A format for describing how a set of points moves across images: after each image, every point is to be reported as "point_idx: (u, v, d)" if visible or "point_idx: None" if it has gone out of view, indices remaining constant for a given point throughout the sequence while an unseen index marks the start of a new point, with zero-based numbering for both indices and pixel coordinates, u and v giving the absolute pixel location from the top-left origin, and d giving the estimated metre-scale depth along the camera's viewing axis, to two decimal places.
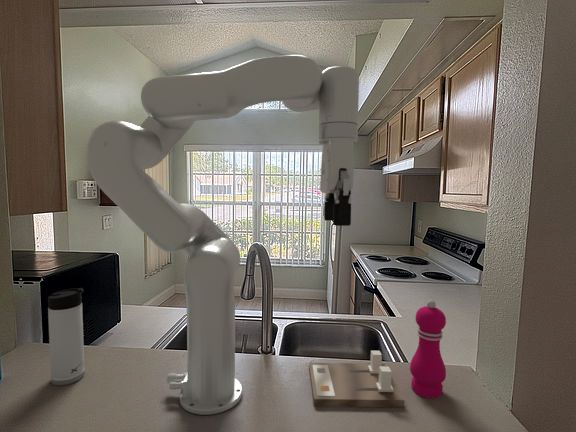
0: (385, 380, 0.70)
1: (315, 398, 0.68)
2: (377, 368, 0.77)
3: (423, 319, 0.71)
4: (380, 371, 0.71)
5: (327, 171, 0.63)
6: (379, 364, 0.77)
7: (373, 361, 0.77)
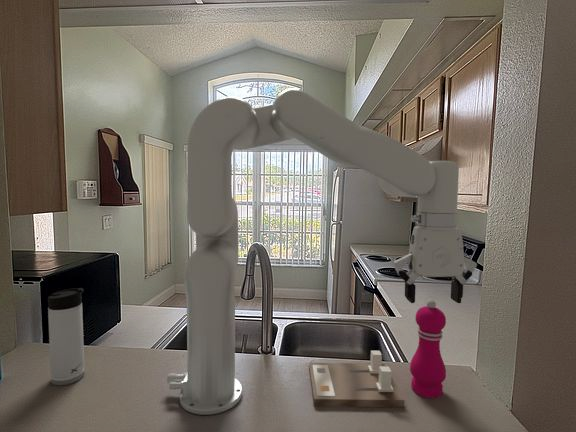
0: (385, 380, 0.70)
1: (315, 398, 0.68)
2: (377, 368, 0.77)
3: (423, 319, 0.71)
4: (380, 371, 0.71)
5: (459, 257, 0.69)
6: (379, 364, 0.77)
7: (373, 361, 0.77)
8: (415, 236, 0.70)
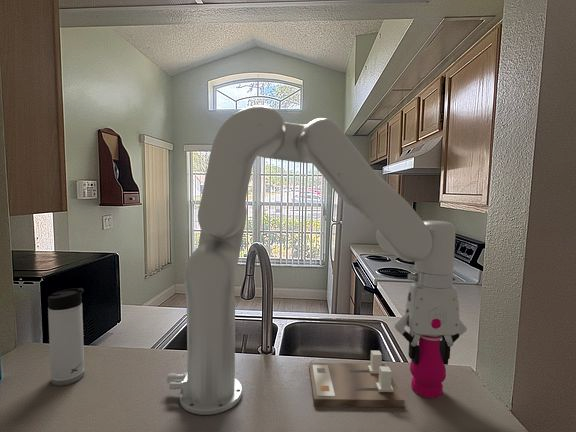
0: (385, 380, 0.70)
1: (315, 398, 0.68)
2: (377, 368, 0.77)
3: None
4: (380, 371, 0.71)
5: (455, 317, 0.70)
6: (379, 364, 0.77)
7: (373, 361, 0.77)
8: (412, 295, 0.71)
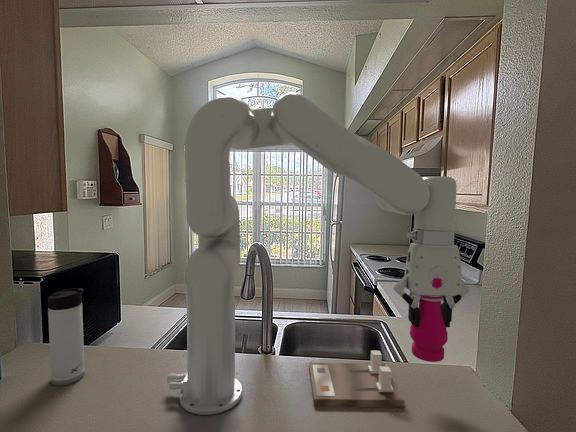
0: (385, 380, 0.70)
1: (315, 398, 0.68)
2: (377, 368, 0.77)
3: None
4: (380, 371, 0.71)
5: (457, 276, 0.67)
6: (379, 364, 0.77)
7: (373, 361, 0.77)
8: (411, 254, 0.68)
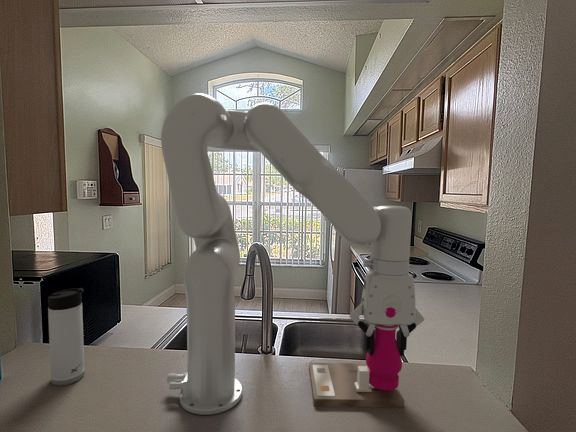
0: (363, 380, 0.70)
1: (315, 398, 0.68)
2: None
3: None
4: (358, 371, 0.71)
5: (411, 306, 0.67)
6: None
7: None
8: (366, 282, 0.68)
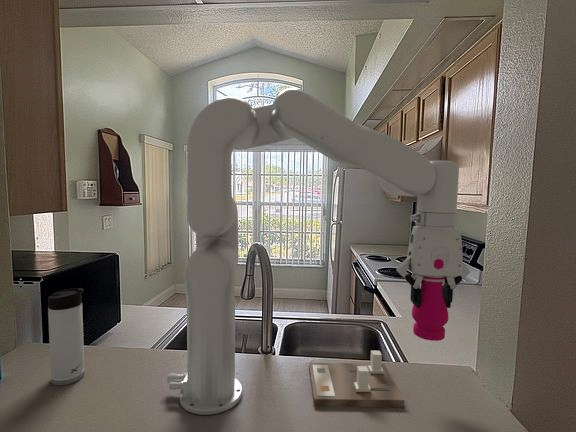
0: (362, 380, 0.70)
1: (315, 398, 0.68)
2: (377, 368, 0.77)
3: None
4: (358, 371, 0.71)
5: (458, 257, 0.69)
6: (379, 364, 0.77)
7: (373, 361, 0.77)
8: (414, 235, 0.70)
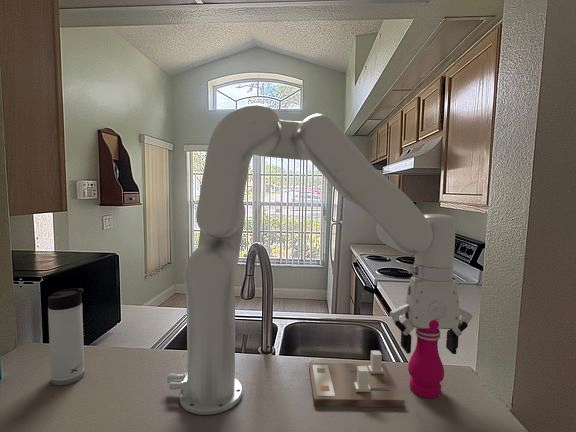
0: (362, 380, 0.70)
1: (315, 398, 0.68)
2: (377, 368, 0.77)
3: None
4: (358, 371, 0.71)
5: (455, 310, 0.70)
6: (379, 364, 0.77)
7: (373, 361, 0.77)
8: (412, 288, 0.71)
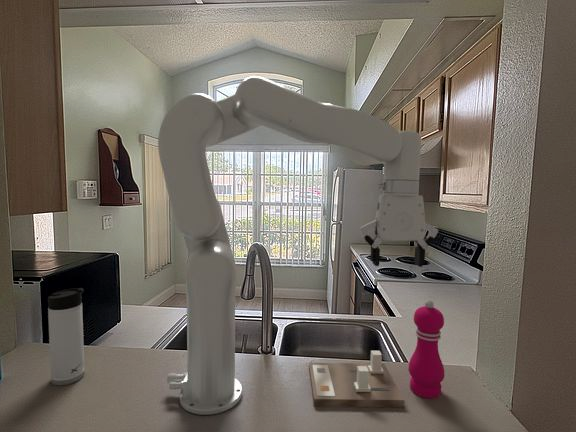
0: (362, 380, 0.70)
1: (315, 398, 0.68)
2: (377, 368, 0.77)
3: (422, 320, 0.71)
4: (358, 371, 0.71)
5: (421, 222, 0.73)
6: (379, 364, 0.77)
7: (373, 361, 0.77)
8: (380, 202, 0.74)
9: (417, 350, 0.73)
